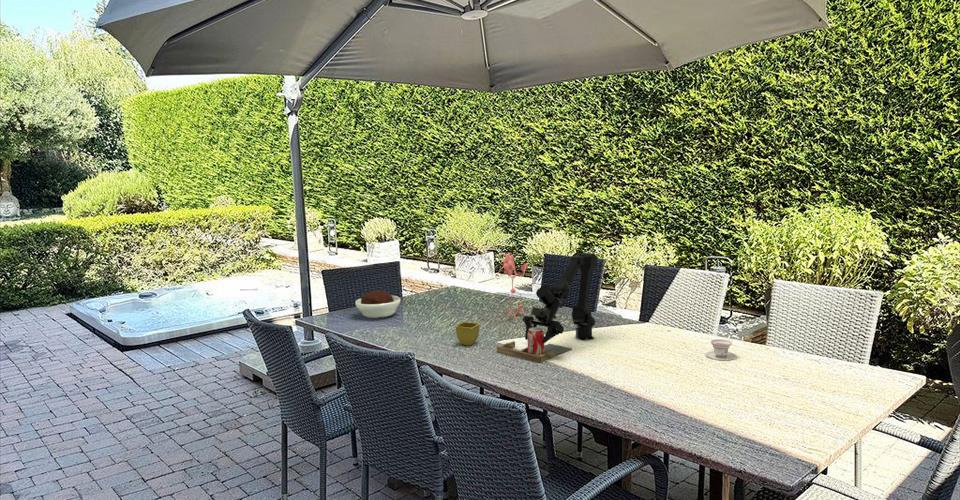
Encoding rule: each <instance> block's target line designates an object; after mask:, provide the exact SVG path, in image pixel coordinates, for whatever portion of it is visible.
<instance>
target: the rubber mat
mask: <svg viewBox="0 0 960 500" xmlns="http://www.w3.org/2000/svg"><path fill="white" fill-rule="evenodd" d="M544 347H545V352H544V354H545V353H547V352H550V351H552V350H554V351H555V357H557V356H560V355H562V354H564V353H567V352H569V351H573V348H572V347H567V346H562V345H559V344H554V343H548V344H544Z"/></svg>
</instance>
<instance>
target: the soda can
mask: <svg viewBox="0 0 960 500" xmlns="http://www.w3.org/2000/svg"><path fill="white" fill-rule="evenodd" d="M544 336H545V332H544V331H543V328H542V327H537V326H536V327H533V328H529V331H528V334H527V340H526V341H527V347H528V353H529V354H533V355H538V356H539V355H542V354H544V352H545V347H544V346H545V343H544V344H543V343H542V341H543V338H544Z"/></svg>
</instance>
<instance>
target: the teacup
mask: <svg viewBox="0 0 960 500" xmlns="http://www.w3.org/2000/svg"><path fill="white" fill-rule="evenodd" d="M710 344H711V345H712V347H713V350H710V351H706V352H705V353H704V356H705V357H706V358H708V359H711V360H716V361H732V360H736V359H737V355H736V354H735V353H733V352H729V348H730V346H731V345H732V344H733V342H732V341H731V340H730V339H721V338H720V339H719V338H717V339H711V340H710Z"/></svg>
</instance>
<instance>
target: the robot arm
mask: <svg viewBox="0 0 960 500" xmlns="http://www.w3.org/2000/svg"><path fill="white" fill-rule="evenodd" d="M598 261H599V259H598V256H597V255H596V253H593V252H592V253H589V252H581V253H580V254H578V255H577V254H576V255H573V256H571V257H570V261H569V263H568V264H567V266H566V268H565V270H564V271H563V274H562V275H561V277H560V279H558V280H557V281H555V282H554V283H553V284H552V286H551V287H550V285H549V284H546V283H545V284H543V286H541V287H539V288H538V289H536V291H535V295H536V296H537V298H538V299H539V300H540V301H541V303H542V304H544V307H541V308H539V307H534V306H533V307H532V310H531V312H530V315H531V316H530V315H525V316H524V315H523V318H522V319H521V321H522V322H523V323H524V325H525V334H524V335H525V337H524V339H525V340H526V341H527V334H528V331H529V328H533V327H537V326H540V327H545V328H547V330H546V332H545V333H544V338H543V341H542V343H543V344H544V345H545V344H546V343H547V342H548V341H550V340H551V339H553V338H554V337H557V336H559V335H560V334H563V332H564V326H563V325H562V323H561V322H560V321H558V320H555V319H557V316H556V314H557V312H558V311H559V308H561V309H563V308H564V306H563V302H562V301H561V300H566V299H567V298H568V296H569V294H570V292H571V284H572V282H573V280H574V279H575V277H576V275H577V273H578V271H579V270H580V277H579V285H578V286H579V288H578V295H577V303H576V304H575V305H573V306H572V312H571V317H572V321H573V324H574V325H576V327H575V338H577V339H579V340H580V341H581V340H582V341H585V340H592V339H594V337H593V327H594V326H595V324H596V319H595V318H594V317H593V316H592V309H591V307H590V304H589V303H590V296H591V295H590V293H591V284H592V276H593V275H592V274H593V272H594V271H595V270H596V268H597V264H598ZM533 316H535V318H534V317H533Z"/></svg>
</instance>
